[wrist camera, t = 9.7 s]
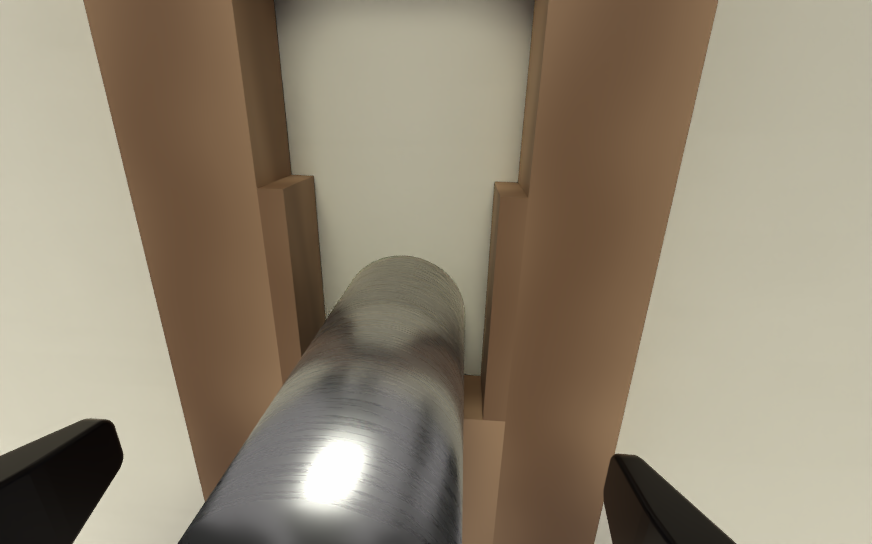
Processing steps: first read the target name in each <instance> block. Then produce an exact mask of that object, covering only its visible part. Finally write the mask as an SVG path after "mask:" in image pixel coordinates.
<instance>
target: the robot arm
mask: <svg viewBox="0 0 872 544" xmlns="http://www.w3.org/2000/svg"><path fill="white" fill-rule="evenodd" d="M122 462H123V451H122V447H121V444H120V441H119V438H118V435H117V432H116V429H115V426H114V424H113V423H112V422H111V421H110V420H106V419H92V418H90V419H84V420H81V421H79V422H76V423H74V424H72V425H69V426H67V427H65V428H63V429H60V430H58V431H56V432H54V433H51V434H49V435H47V436H44V437H42V438H40V439H38V440H35V441H33V442H31V443H29V444H26V445H24V446H22V447H19V448H17V449H15V450H13V451H10V452H8V453H6V454H4V455H1V456H0V544H73V542H74V540H75V539H76V537H77V536H78V534H79V533H80V531H81V529H82V528H83V526H84V525H85V523H86V521H87V520H88V518H89V517H90V515H91V513H92V512H93V510H94V509H95V507H96V506H97V504H98V502H99V501H100V499H101V498H102V496H103V494H104V493H105V491H106V490H107V488H108V486H109V485H110V483H111V482H112V480H113V479H114V477H115V475H116V474H117V472H118V471H119V469H120V467H121V465H122ZM603 498H604V505H605V510H606V515H607V519H608V524H609V529H610V533H611V538H612V542H613V544H736V543H735V542H734V541H733V540H732V539H731V538H730V537H728V536H727V535H726V534H725V533H724V532H723V531H722V530H721V529H720V528H718V527H717V526H716V525H715V524H714V523H713V522H712V521H711V520H709V519H708V518H707V517H706V516H705V515H704V514H703V513H702V512H701V511H699V510H698V509H697V508H696V507H695V506H694V505H693V504H692V503H691V502H689V501H688V500H687V499H686V498H685V497H684V496H683V495H682V494H680V493H679V492H678V491H677V490H676V489H675V488H674V487H673V486H672V485H670V484H669V483H668V482H667V481H666V480H665V479H664V478H663V477H662V476H660V475H659V474H658V473H657V472H656V471H655V470H654V469H653V468H651V467H650V466H649V465H648V464H647V463H646V462H645V461H644V460H643V459H641V458H640V457H638V456H636V455H627V454H614V455H613V456H612V457H611V459H610V462H609V467H608V471H607V476H606V480H605V485H604V490H603Z"/></svg>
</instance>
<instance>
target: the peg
mask: <svg viewBox="0 0 872 544" xmlns="http://www.w3.org/2000/svg"><path fill="white" fill-rule="evenodd" d="M464 333H465V309H464V303H463V299H462V296H461V293H460V291H459V289H458V287H457V286H456V284H455V283H454V281H453V280H452V279H451V278H450V277H449V275H448V274H446V273H445V272H444V271H443V270H442V269H440V268H439V267H437V266H436V265H434V264H432V263H430V262H428V261H426V260H423V259H420V258H416V257H411V256H391V257H386V258H382V259H379V260H377V261H375V262H372V263H371V264H369V265H367V266H366V267H365V268H363V269H362V270H361V271H360V272H359V273H358V274H357V275H356V276H355V277H354V279H353V280H352V282H351V283H350V285H349V286H348V288H347V289H346V291H345V292H344V294H343V295H342V297H341V298H340V300H339V301H338V303H337V304H336V306H335V307H334V309H333V310H332V312H331V313H330V315H329V316H328V318H327V319H326V321H325V322H324V324H323V325H322V327H321V328H320V330H319V331H318V333H317V335H316V336H315V338H314V339H313V341H312V342H311V344H310V345H309V347H308V348H307V350H306V351H305V353H304V354H303V356H302V357H301V359H300V360H299V362H298V363H297V365H296V366H295V368H294V369H293V371H292V372H291V374H290V375H289V377H288V378H287V380H286V381H285V383H284V384H283V386H282V387H281V389H280V390H279V392H278V393H277V395H276V396H275V398H274V399H273V401H272V402H271V404H270V405H269V407H268V408H267V410H266V411H265V413H264V414H263V416H262V417H261V419H260V420H259V422H258V423H257V425H256V426H255V428H254V429H253V431H252V432H251V434H250V435H249V437H248V438H247V440H246V441H245V443H244V444H243V446H242V447H241V449H240V450H239V452H238V453H237V455H236V456H235V458H234V459H233V461H232V462H231V464H230V465H229V467H228V469H227V470H226V472H225V473H224V475H223V476H222V478H221V479H220V481H219V482H218V484H217V485H216V487H215V488H214V490H213V491H212V493H211V494H210V496H209V497H208V499H207V500H206V502H205V503H204V505H203V506H202V508H201V509H200V511H199V512H198V514H197V515H196V517H195V518H194V520H193V521H192V523H191V524H190V526H189V527H188V529H187V530H186V532H185V533H184V535H183V536H182V538H181V539H180V541H179V542H178V544H462V510H463V421H464Z"/></svg>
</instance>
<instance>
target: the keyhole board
mask: <svg viewBox="0 0 872 544" xmlns="http://www.w3.org/2000/svg"><path fill="white" fill-rule="evenodd" d="M83 1H84V5H85V9H86V13H87V17H88V21H89V26H90V30H91V34H92V38H93V42H94V46H95V50H96V54H97V59H98V63H99V67H100V71H101V75H102V79H103V83H104V87H105V92H106V96H107V100H108V104H109V108H110V112H111V116H112V120H113V125H114V129H115V133H116V137H117V141H118V145H119V149H120V153H121V158H122V162H123V166H124V170H125V174H126V178H127V182H128V186H129V190H130V195H131V199H132V203H133V207H134V211H135V215H136V219H137V223H138V228H139V232H140V236H141V240H142V244H143V248H144V252H145V256H146V261H147V265H148V269H149V273H150V277H151V281H152V285H153V289H154V294H155V298H156V302H157V306H158V310H159V314H160V318H161V322H162V327H163V331H164V335H165V339H166V343H167V347H168V351H169V355H170V360H171V364H172V368H173V372H174V376H175V380H176V384H177V388H178V392H179V397H180V401H181V405H182V409H183V413H184V417H185V421H186V425H187V430H188V434H189V438H190V442H191V446H192V450H193V454H194V458H195V463H196V467H197V471H198V475H199V479H200V483H201V487H202V491H203V496H204V500H205V502H206V500H207V499H208V497H209V496H210V494H211V493H212V491H213V490H214V488H215V487H216V485H217V484H218V482H219V481H220V479H221V478H222V476H223V475H224V473H225V472H226V470H227V469H228V467H229V465H230V464H231V462H232V461H233V459H234V458H235V456H236V455H237V453H238V452H239V450H240V449H241V447H242V446H243V444H244V443H245V441H246V440H247V438H248V437H249V435H250V434H251V432H252V431H253V429H254V428H255V426H256V425H257V423H258V422H259V420H260V419H261V417H262V416H263V414H264V413H265V411H266V410H267V408H268V407H269V405H270V404H271V402H272V401H273V399H274V398H275V396H276V395H277V393H278V392H279V390H280V389H281V387H282V386H283V384H284V383H285V381H286V380H287V378H288V377H289V375H290V374H291V372H292V371H293V369H294V368H295V366H296V365H297V363H298V362H299V360H300V359H301V357H302V356H303V354H304V353H305V351H306V350H307V348H308V347H309V345H310V344H311V342H312V341H313V339H314V338H315V336H316V335H317V333H318V331H319V330H320V328H321V327H322V325H323V324H324V322H325V310H324V297H323V285H322V273H321V261H320V249H319V237H318V225H317V213H316V200H315V188H314V176H306V175H291V166H290V156H289V146H288V136H287V126H286V117H285V107H284V97H283V87H282V77H281V67H280V57H279V47H278V38H277V28H276V18H275V8H274V0H83ZM717 4H718V0H535V4H534V14H533V25H532V36H531V47H530V58H529V68H528V79H527V90H526V101H525V111H524V122H523V133H522V144H521V155H520V165H519V176H518V183H514V182H495V184H494V198H493V211H492V225H491V239H490V253H489V266H488V280H487V294H486V308H485V322H484V335H483V349H482V363H481V376H474V375H464V421H463V510H462V544H594V541H595V537H596V532H597V528H598V524H599V519H600V515H601V511H602V506H603V502H604V498H603V490H604V485H605V480H606V476H607V471H608V467H609V462H610V459H611V457H612V456H613V455H614V454H615V449H616V445H617V441H618V436H619V432H620V428H621V423H622V419H623V414H624V410H625V406H626V401H627V397H628V393H629V388H630V384H631V380H632V375H633V371H634V366H635V362H636V358H637V353H638V349H639V345H640V340H641V336H642V331H643V327H644V323H645V318H646V314H647V310H648V305H649V301H650V297H651V292H652V288H653V283H654V279H655V275H656V270H657V266H658V262H659V257H660V253H661V248H662V244H663V240H664V235H665V231H666V227H667V222H668V218H669V214H670V209H671V205H672V200H673V196H674V192H675V187H676V183H677V179H678V174H679V170H680V165H681V161H682V157H683V152H684V148H685V144H686V139H687V135H688V131H689V126H690V122H691V117H692V113H693V109H694V104H695V100H696V96H697V91H698V87H699V82H700V78H701V74H702V69H703V65H704V61H705V56H706V52H707V48H708V43H709V39H710V34H711V30H712V26H713V21H714V17H715V13H716V8H717Z"/></svg>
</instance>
